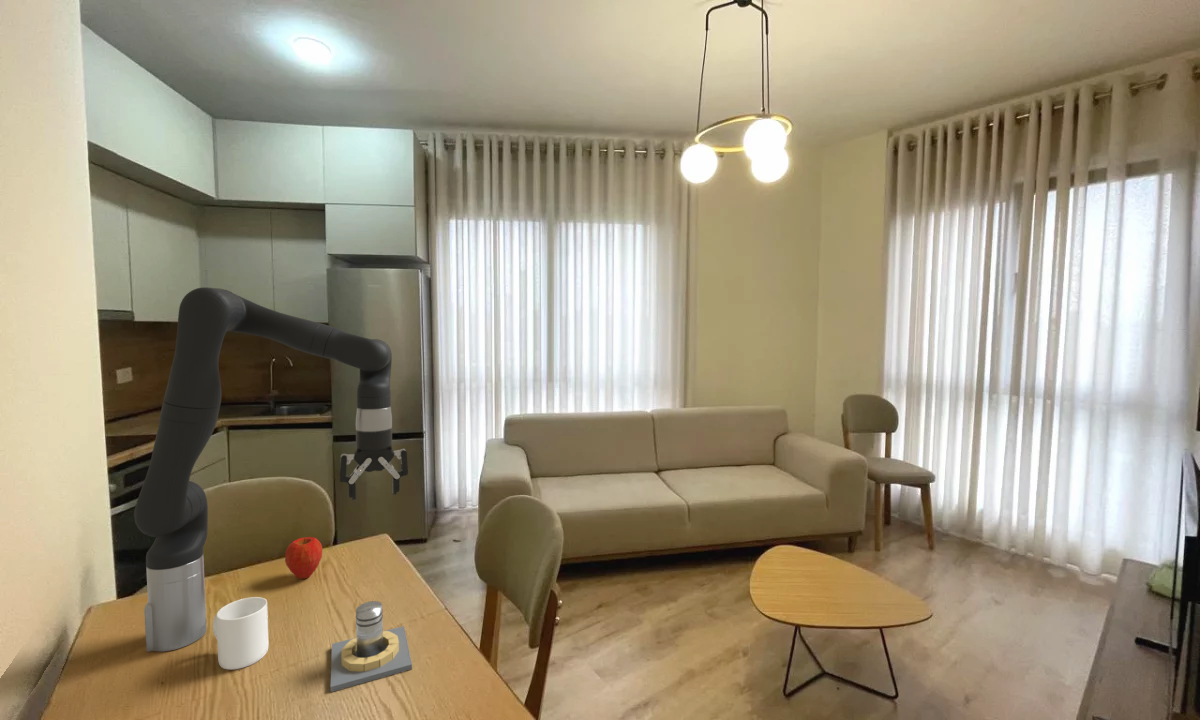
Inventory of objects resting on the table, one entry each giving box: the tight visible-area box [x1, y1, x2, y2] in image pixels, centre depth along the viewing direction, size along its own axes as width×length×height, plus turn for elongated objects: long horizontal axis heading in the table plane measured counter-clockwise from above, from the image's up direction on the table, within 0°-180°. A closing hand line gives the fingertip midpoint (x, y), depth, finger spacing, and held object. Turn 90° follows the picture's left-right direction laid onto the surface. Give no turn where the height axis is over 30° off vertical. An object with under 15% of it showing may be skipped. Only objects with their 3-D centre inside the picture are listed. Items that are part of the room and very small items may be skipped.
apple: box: [284, 536, 323, 580], centre depth 132 cm, size 9×8×11 cm
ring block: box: [330, 625, 413, 693], centre depth 101 cm, size 14×14×2 cm
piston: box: [355, 600, 384, 658], centre depth 101 cm, size 5×5×10 cm
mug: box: [212, 596, 269, 671], centre depth 101 cm, size 12×8×10 cm
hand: (374, 496), depth 115 cm, fingers open, 8 cm apart
